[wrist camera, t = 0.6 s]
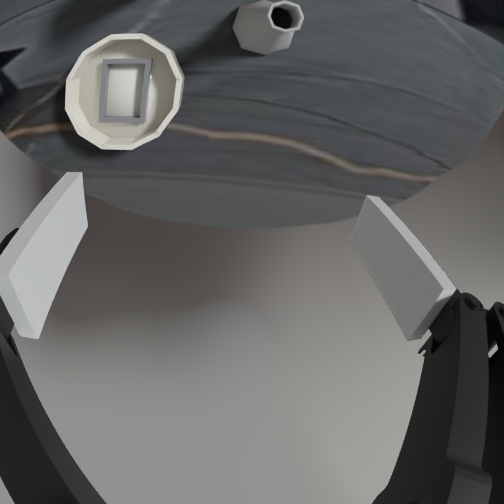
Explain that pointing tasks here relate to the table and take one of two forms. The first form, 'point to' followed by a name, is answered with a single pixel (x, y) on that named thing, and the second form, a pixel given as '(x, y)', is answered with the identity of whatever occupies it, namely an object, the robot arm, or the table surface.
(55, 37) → the table surface
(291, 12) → the flask
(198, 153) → the table surface
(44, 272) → the robot arm
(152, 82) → the white round dish
